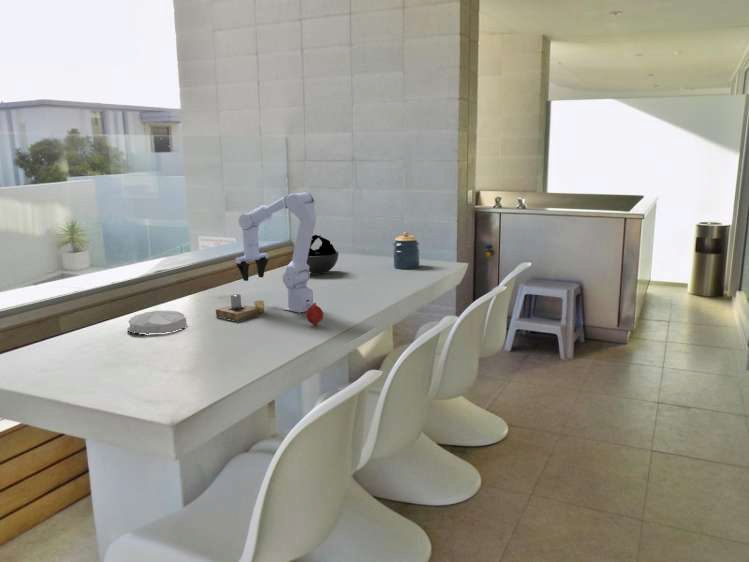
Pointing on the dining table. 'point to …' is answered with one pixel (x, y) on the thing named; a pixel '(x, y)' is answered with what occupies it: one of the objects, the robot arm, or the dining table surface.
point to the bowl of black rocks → (321, 256)
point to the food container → (157, 322)
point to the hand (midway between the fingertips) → (253, 278)
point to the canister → (406, 252)
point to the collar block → (237, 313)
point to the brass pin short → (260, 306)
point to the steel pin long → (236, 302)
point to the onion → (314, 314)
